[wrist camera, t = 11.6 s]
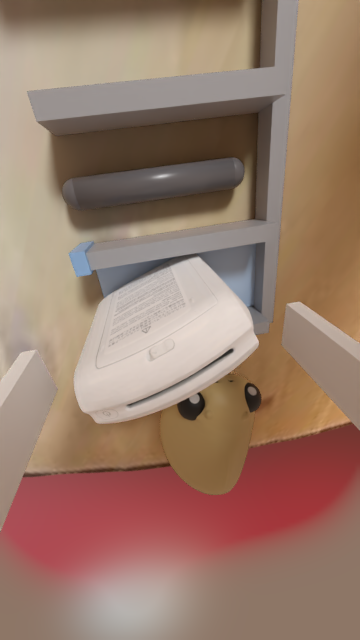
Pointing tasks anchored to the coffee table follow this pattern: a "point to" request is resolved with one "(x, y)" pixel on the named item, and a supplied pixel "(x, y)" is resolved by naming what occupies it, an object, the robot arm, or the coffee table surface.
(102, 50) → the coffee table surface
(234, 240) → the grey shelf rack
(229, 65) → the coffee table surface
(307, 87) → the coffee table surface
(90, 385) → the photo printer
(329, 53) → the coffee table surface
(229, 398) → the tan frog figure
